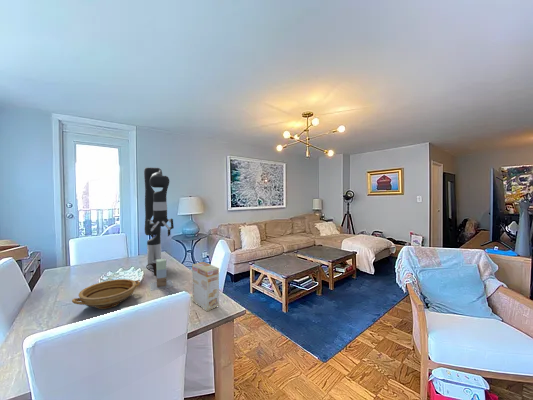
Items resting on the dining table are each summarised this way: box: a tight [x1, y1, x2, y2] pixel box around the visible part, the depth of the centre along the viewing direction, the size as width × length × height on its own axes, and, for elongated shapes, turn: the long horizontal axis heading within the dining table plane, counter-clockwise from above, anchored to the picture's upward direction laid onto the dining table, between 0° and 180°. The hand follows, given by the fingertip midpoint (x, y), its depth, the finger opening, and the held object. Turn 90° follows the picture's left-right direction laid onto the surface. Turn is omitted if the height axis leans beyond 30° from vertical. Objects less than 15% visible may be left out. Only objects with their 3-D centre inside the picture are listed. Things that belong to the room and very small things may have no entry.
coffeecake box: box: [191, 261, 220, 312], centre depth 117 cm, size 15×7×20 cm, turn 44°
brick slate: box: [156, 268, 167, 280], centre depth 139 cm, size 5×5×5 cm
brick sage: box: [156, 258, 167, 270], centre depth 138 cm, size 5×5×5 cm
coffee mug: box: [146, 260, 157, 277], centre depth 157 cm, size 12×9×10 cm
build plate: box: [149, 279, 174, 291], centre depth 139 cm, size 12×12×1 cm
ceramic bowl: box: [71, 278, 141, 310], centre depth 118 cm, size 30×24×8 cm
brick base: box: [156, 276, 167, 287], centre depth 139 cm, size 5×5×5 cm
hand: (160, 236), depth 138 cm, fingers open, 8 cm apart
